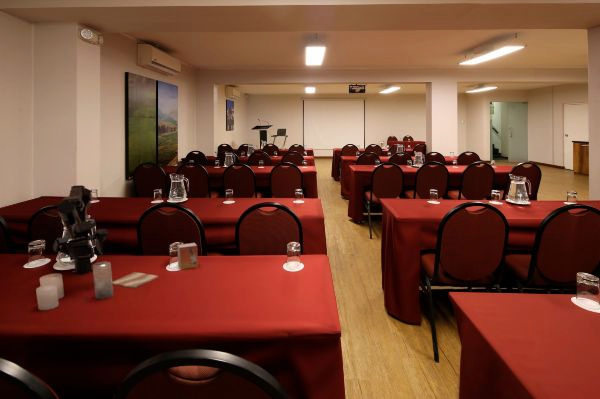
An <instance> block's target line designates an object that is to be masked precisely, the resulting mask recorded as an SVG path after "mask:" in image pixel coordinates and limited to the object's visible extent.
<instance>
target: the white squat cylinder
mask: <svg viewBox="0 0 600 399" xmlns="http://www.w3.org/2000/svg"><path fill="white" fill-rule="evenodd" d="M35 291H36V299H37V307H38V310H40V311H48V310H52V309H55V308H57V307H58V306H59V305H60V304H59V299H58V295H57V286H56V285H53V284H50V285H44V286H39V287H37V288H36V289H35Z"/></svg>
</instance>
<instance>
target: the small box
mask: <svg viewBox="0 0 600 399" xmlns="http://www.w3.org/2000/svg"><path fill="white" fill-rule="evenodd" d="M176 247H177V265H178V266H177V267H178V268H179V270H188V269H195V268H199V263H198V262H199V260H198V258H199V256H198V245H197V244H196V243H195V242H191V243H183V244H182V243H181V244H177V245H176Z"/></svg>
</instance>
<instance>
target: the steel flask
mask: <svg viewBox="0 0 600 399" xmlns="http://www.w3.org/2000/svg"><path fill="white" fill-rule="evenodd" d="M92 268H93V270H92V273H93V285H94V294H95V295H94V296H95V299H97V300H106V299H110V298H111V297H113V296H114V286H113V285H114V284H112V282H113V274H112V264H111V262H110V261H99V262H96V263H93V264H92Z"/></svg>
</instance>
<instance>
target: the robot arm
mask: <svg viewBox="0 0 600 399" xmlns="http://www.w3.org/2000/svg"><path fill="white" fill-rule="evenodd" d="M92 201H93V194H92V192H91V190H90V189H89V188H86V187H85V185H83V184H82V185H73V186H71V188H70V191H69V194H68V196H66V197H63V198H62V199H61V201H60V203H58V205H57V207H56V209H57V212H58V214H59V216H60V218H61V221H62V223H63V225H64V227H65V229H66V230H67V233H66V234H67V236H63V237H58V238H55V240H54V242H53V246H52V249H53V251H54V252H55V253H59V254H64V255H65V256H68V257H69V259H70V261H73V262H74V270H72V271H71V273H73V274H81V275H84V274H86V273H89V272H91V271H92V272H93V266H92V260H91V259H93V258H94V257H95V251H94V248H93V246H92V245H91V243H90V241H93V243H94V246H95V248H96V250H97V251H98V253H99V254H100V255H101V256H103V255H104V248H103V245H104V244H103V242H105V241H106V239H107V237H108V236H109V233H108V230H107V229H104V228H103V229H98V230H95V231H94V234H90V233H91V230H92V229H93V228H95V227H97V223H96V221H95V219H94V218H91V219H88V218H87V217H88V216H87V213H88V212H87V211H88V209H89V208H90V207H91V203H92ZM87 219H88V220H87ZM89 234H90V235H89ZM69 237H70V239H69Z"/></svg>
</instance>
